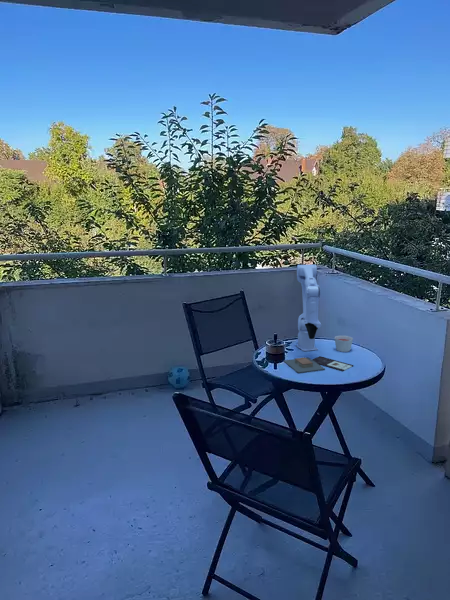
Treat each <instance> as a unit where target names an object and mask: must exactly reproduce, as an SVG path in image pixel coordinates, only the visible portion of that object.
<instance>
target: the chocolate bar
mask: <svg viewBox="0 0 450 600" xmlns="http://www.w3.org/2000/svg"><path fill="white" fill-rule="evenodd" d="M311 359H312V358H311ZM312 360H313V361H314V362H316V363H317V364H319V365H320V366H322V367H325V368H329V369H332V370H336V371H339V372H345V371H346V370H347V371H348V370H349V369H350V368H353V367H354V364H350V363H347V362H342V361H339V360H336V359H332V358H328V357H325V356H322V355H321V356H319V355H318V356H317V357H314V358H313V359H312Z"/></svg>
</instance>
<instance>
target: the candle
mask: <svg viewBox="0 0 450 600" xmlns="http://www.w3.org/2000/svg"><path fill="white" fill-rule="evenodd" d="M353 340H354V338H353V337H352V336H350V335H336V336H334V344H335V349H336V351H338V352H342V353H348V352H350V351H351V349H352V345H353Z"/></svg>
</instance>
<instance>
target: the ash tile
mask: <svg viewBox="0 0 450 600" xmlns="http://www.w3.org/2000/svg"><path fill="white" fill-rule="evenodd" d="M306 358H307V357H297V358H294V359H295V363H297V364H298V365H299V366H301V367H302V368H307V367H313V363H312V362H311V361H309V360H308V359H306Z"/></svg>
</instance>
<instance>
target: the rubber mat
mask: <svg viewBox="0 0 450 600" xmlns="http://www.w3.org/2000/svg"><path fill="white" fill-rule="evenodd" d="M305 358H306V359H308V360H309V361H311V362H312V363H313V367H307V368H302V367H301V366H299V365H298V364H297V363H295V359H296V358H293V359H291V358H290V359H286V360H284V359H283V363H284V364H286V365H287V367H290V369H292V370H293V371H295V372H296V373H297V374H304V373H315V372H319V371H325V370H326V367H325V368H324V366H322V365H319V364H317V363H316V362H314V361H313V360H312V358H311V357H305Z"/></svg>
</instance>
